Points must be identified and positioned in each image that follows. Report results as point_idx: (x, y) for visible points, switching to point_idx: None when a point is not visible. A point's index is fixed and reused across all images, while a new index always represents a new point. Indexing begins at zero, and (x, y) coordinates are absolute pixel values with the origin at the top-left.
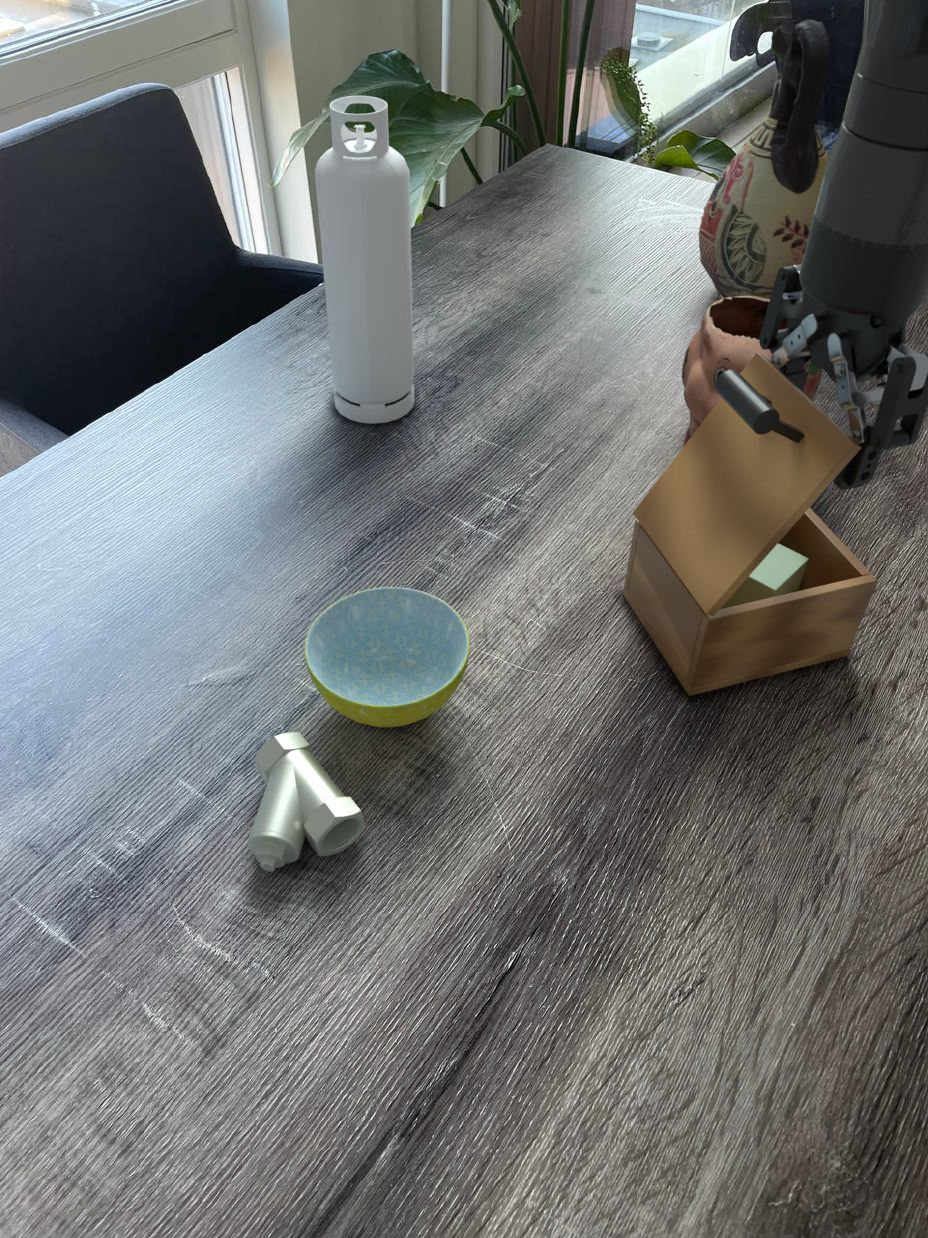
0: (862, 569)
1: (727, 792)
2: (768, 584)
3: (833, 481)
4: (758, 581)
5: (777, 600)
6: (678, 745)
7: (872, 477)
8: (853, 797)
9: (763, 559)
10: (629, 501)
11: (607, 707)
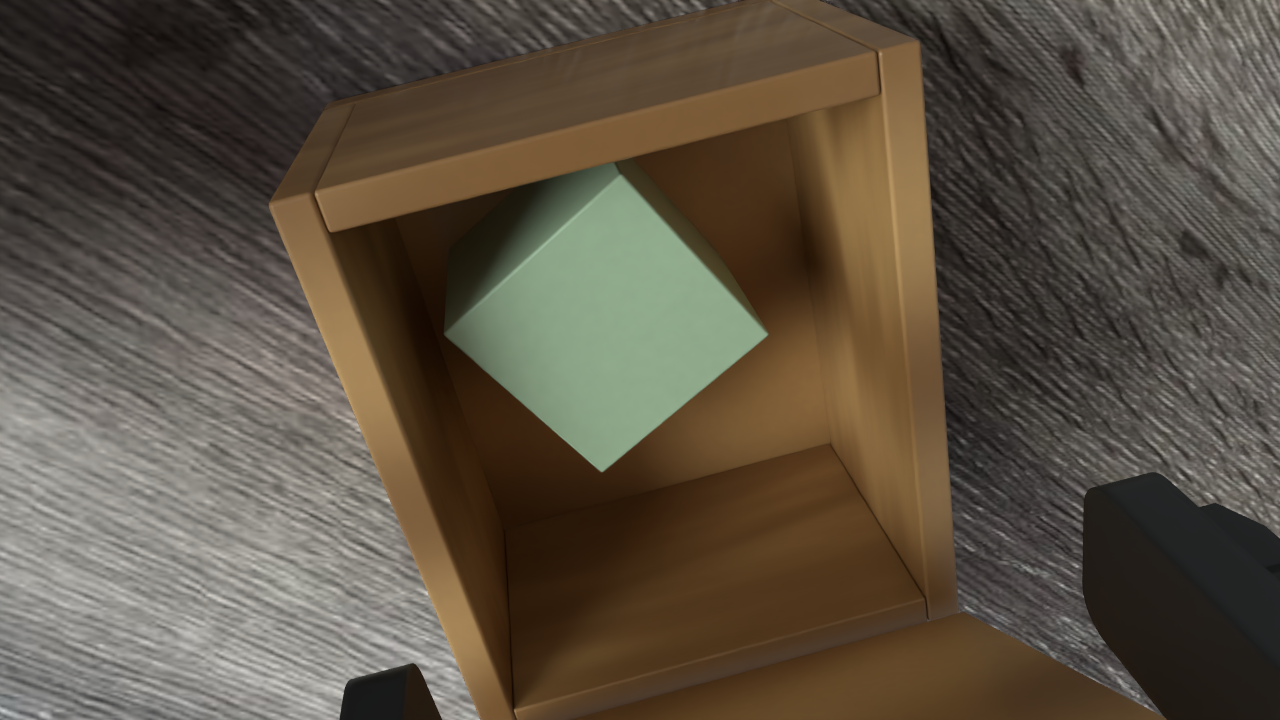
0: (850, 82)
1: (1107, 413)
2: (739, 350)
3: (1098, 629)
4: (718, 375)
5: (934, 427)
6: (971, 482)
7: (1268, 533)
8: (1212, 155)
9: (1063, 664)
10: (26, 478)
11: None
